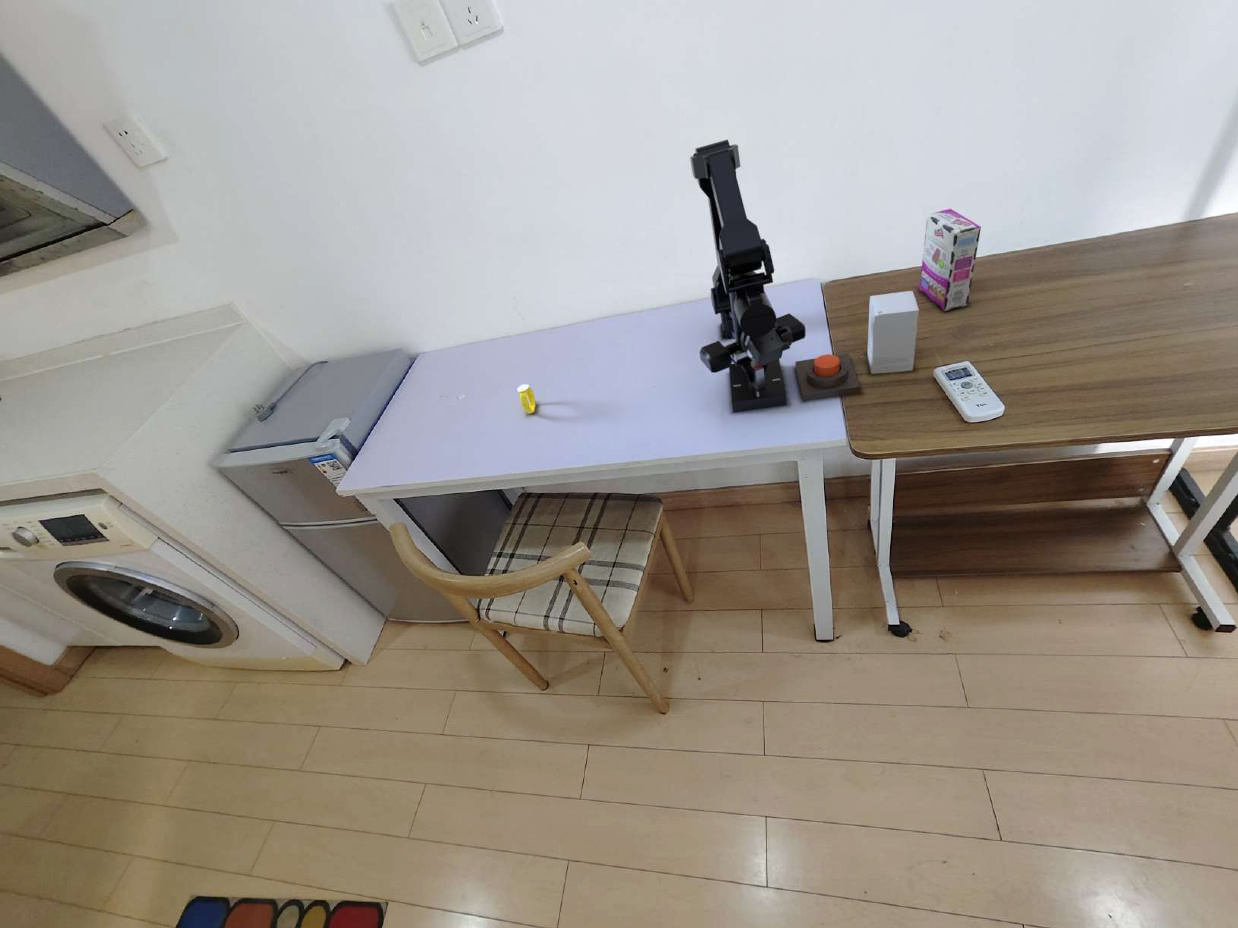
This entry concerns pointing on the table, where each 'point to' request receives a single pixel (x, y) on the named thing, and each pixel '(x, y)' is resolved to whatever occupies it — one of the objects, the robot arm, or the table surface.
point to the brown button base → (827, 380)
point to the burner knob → (758, 375)
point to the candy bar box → (949, 258)
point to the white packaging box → (892, 332)
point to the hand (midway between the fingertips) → (756, 380)
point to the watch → (523, 392)
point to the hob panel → (749, 396)
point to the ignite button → (826, 365)
